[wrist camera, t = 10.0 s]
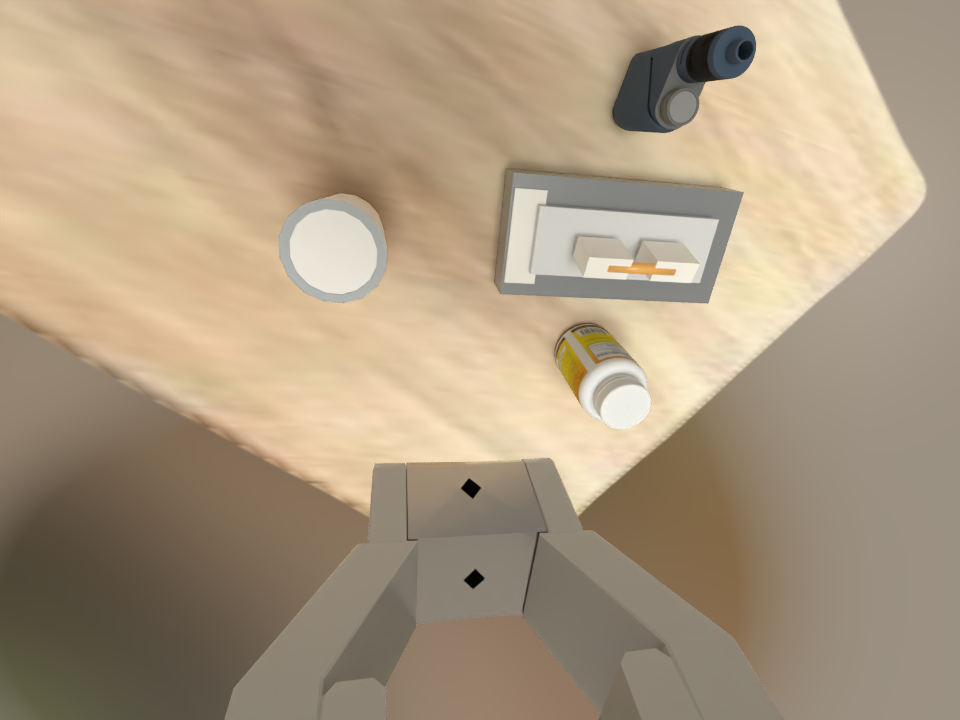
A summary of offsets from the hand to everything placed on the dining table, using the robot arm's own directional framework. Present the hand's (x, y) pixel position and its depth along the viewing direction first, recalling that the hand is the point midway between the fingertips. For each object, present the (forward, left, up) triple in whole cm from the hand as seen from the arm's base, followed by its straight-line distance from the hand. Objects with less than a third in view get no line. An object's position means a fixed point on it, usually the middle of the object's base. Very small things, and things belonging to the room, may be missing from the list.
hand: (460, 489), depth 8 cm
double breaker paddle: (+2, +15, -28) cm, 32 cm away
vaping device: (-9, +15, -32) cm, 37 cm away
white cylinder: (+3, -6, -32) cm, 33 cm away
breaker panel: (+2, +15, -32) cm, 36 cm away
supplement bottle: (+12, +15, -32) cm, 38 cm away
